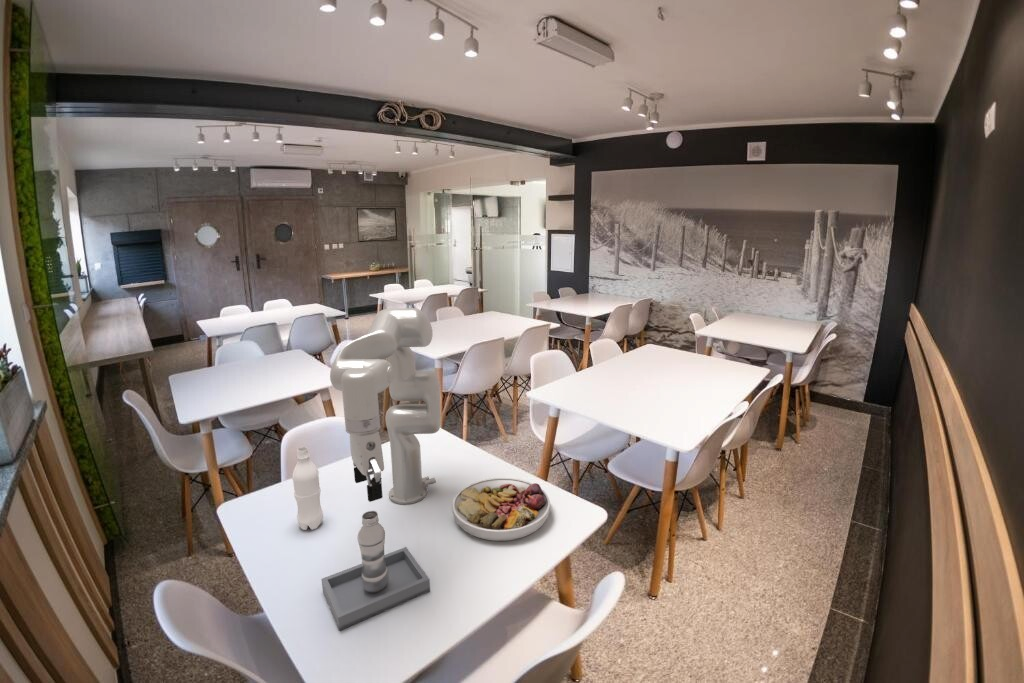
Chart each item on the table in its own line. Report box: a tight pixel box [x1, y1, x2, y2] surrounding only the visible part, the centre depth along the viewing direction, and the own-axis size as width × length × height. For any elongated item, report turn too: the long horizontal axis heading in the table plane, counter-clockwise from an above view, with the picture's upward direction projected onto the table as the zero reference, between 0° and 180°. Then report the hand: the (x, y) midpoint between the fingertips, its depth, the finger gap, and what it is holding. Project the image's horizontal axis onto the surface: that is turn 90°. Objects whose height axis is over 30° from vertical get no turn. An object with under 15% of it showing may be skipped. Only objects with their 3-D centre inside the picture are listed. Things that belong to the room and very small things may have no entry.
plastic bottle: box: [357, 510, 389, 593], centre depth 121 cm, size 6×7×20 cm
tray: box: [321, 546, 431, 632], centre depth 123 cm, size 22×15×4 cm
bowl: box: [451, 477, 551, 542], centre depth 154 cm, size 30×30×8 cm
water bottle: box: [292, 446, 324, 531], centre depth 147 cm, size 7×7×25 cm
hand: (368, 490), depth 117 cm, fingers open, 9 cm apart
